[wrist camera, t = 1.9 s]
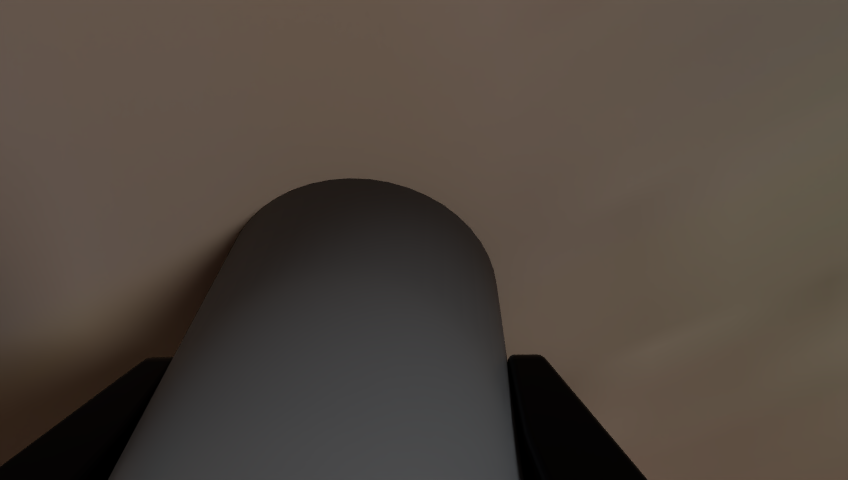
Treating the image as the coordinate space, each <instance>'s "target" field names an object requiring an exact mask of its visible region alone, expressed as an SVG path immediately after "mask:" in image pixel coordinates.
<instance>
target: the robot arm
mask: <svg viewBox="0 0 848 480" xmlns="http://www.w3.org/2000/svg"><path fill="white" fill-rule="evenodd" d="M172 359H173V357H160V358H148V359H145V360H144V361H142V362H141V363H139V364H138V365H137V366H135V367H134V368H132V369H131V370H130V371H128V372H127V373H126V374H124V375H123V376H122V377H120V378H119V379H118V380H116V381H115V382H114V383H112V384H111V385H110V386H108V387H107V388H106V389H104V390H103V391H101V392H100V393H99V394H97V395H96V396H95V397H93V398H92V399H91V400H89V401H88V402H87V403H85V404H84V405H83V406H81V407H80V408H79V409H77V410H76V411H75V412H73V413H72V414H71V415H69V416H68V417H66V418H65V419H64V420H62V421H61V422H60V423H58V424H57V425H56V426H54V427H53V428H52V429H50V430H49V431H48V432H46V433H45V434H44V435H42V436H41V437H40V438H38V439H37V440H35V441H34V442H33V443H31V444H30V445H29V446H27V447H26V448H25V449H23V450H22V451H21V452H19V453H18V454H17V455H15V456H14V457H13V458H11V459H10V460H9V461H7V462H6V463H4V464H3V465H2V466H0V480H108V479H109V477H110V475H111V473H112V471H113V469H114V467H115V465H116V464H117V462H118V460H119V458H120V456H121V454H122V452H123V450H124V449H125V447H126V445H127V443H128V441H129V439H130V437H131V435H132V434H133V432H134V430H135V428H136V426H137V424H138V422H139V421H140V419H141V417H142V415H143V413H144V411H145V409H146V407H147V406H148V404H149V402H150V400H151V398H152V396H153V394H154V392H155V391H156V389H157V387H158V385H159V383H160V381H161V379H162V377H163V376H164V374H165V372H166V370H167V368H168V366H169V364H170V363H171V361H172ZM507 364H508V371H509V378H510V385H511V392H512V399H513V406H514V414H515V421H516V428H517V435H518V442H519V449H520V455H521V462H522V468H523V475H524V480H647V479H646V477H645V476H644V475H643V474H642V473H641V472H640V470H639V469H638V468H637V467H636V466H635V464H634V463H633V462H632V461H631V460H630V458H629V457H628V456H627V455H626V454H625V453H624V451H623V450H622V449H621V448H620V447H619V445H618V444H617V443H616V442H615V441H614V439H613V438H612V437H611V436H610V435H609V434H608V432H607V431H606V430H605V429H604V428H603V426H602V425H601V424H600V423H599V422H598V420H597V419H596V418H595V417H594V416H593V415H592V413H591V412H590V411H589V410H588V409H587V407H586V406H585V405H584V404H583V403H582V401H581V400H580V399H579V398H578V397H577V396H576V394H575V393H574V392H573V391H572V390H571V388H570V387H569V386H568V385H567V384H566V382H565V381H564V380H563V379H562V378H561V377H560V375H559V374H558V373H557V372H556V371H555V369H554V368H553V367H552V366H551V365H550V364H549V362H548V361H547V360H546V359H545V358H544V357H543V356H541V355H512V356H510V357H509V359H508V363H507Z"/></svg>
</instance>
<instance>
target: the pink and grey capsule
mask: <svg viewBox="0 0 848 480" xmlns="http://www.w3.org/2000/svg"><path fill="white" fill-rule="evenodd" d="M507 363H508V362H507V355H506V348H505V341H504V334H503V326H502V319H501V312H500V305H499V298H498V291H497V284H496V279H495V274H494V270H493V267H492V264H491V262H490V259H489V256H488V254H487V252H486V251H485V249H484V247H483V245H482V244H481V242H480V240H479V239H478V238H477V236H476V235H475V234H474V233H473V231H472V230H471V229H470V228H469V227H468V226H467V225H466V224H465V223H464V222H463V221H462V220H461V219H460V218H459V217H458V216H457V215H456V214H454V213H453V212H452V211H450V210H449V209H448V208H446V207H445V206H444V205H442V204H441V203H439V202H437V201H435V200H433V199H432V198H430V197H428V196H426V195H424V194H422V193H419V192H417V191H415V190H412V189H410V188H407V187H403V186H400V185H396V184H393V183H389V182H383V181H377V180H371V179H350V178H349V179H336V180H327V181H322V182H317V183H312V184H309V185H306V186H303V187H300V188H297V189H294V190H292V191H290V192H288V193H286V194H284V195H282V196H280V197H278V198H276V199H275V200H273V201H272V202H270V203H269V204H267V205H266V206H264V207H263V208H262V209H261V210H260V211H259V212H257V213H256V214H255V215H254V216H253V217H252V218H251V219H250V220H249V222H248V223H247V224H246V225H245V227H244V228H243V229H242V230H241V232H240V234H239V236H238V237H237V239H236V241H235V243H234V245H233V247H232V248H231V250H230V252H229V254H228V256H227V258H226V260H225V261H224V263H223V265H222V267H221V269H220V271H219V273H218V275H217V276H216V278H215V280H214V282H213V284H212V286H211V288H210V290H209V291H208V293H207V295H206V297H205V299H204V301H203V303H202V305H201V306H200V308H199V310H198V312H197V314H196V316H195V318H194V319H193V321H192V323H191V325H190V327H189V329H188V331H187V333H186V334H185V336H184V338H183V340H182V342H181V344H180V346H179V348H178V349H177V351H176V353H175V355H174V357H173V359H172V361H171V363H170V364H169V366H168V368H167V370H166V372H165V374H164V376H163V377H162V379H161V381H160V383H159V385H158V387H157V389H156V391H155V392H154V394H153V396H152V398H151V400H150V402H149V404H148V406H147V407H146V409H145V411H144V413H143V415H142V417H141V419H140V421H139V422H138V424H137V426H136V428H135V430H134V432H133V434H132V435H131V437H130V439H129V441H128V443H127V445H126V447H125V449H124V450H123V452H122V454H121V456H120V458H119V460H118V462H117V464H116V465H115V467H114V469H113V471H112V473H111V475H110V477H109V479H108V480H524V475H523V468H522V462H521V455H520V449H519V442H518V435H517V428H516V421H515V414H514V406H513V399H512V392H511V385H510V378H509V371H508V364H507Z"/></svg>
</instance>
